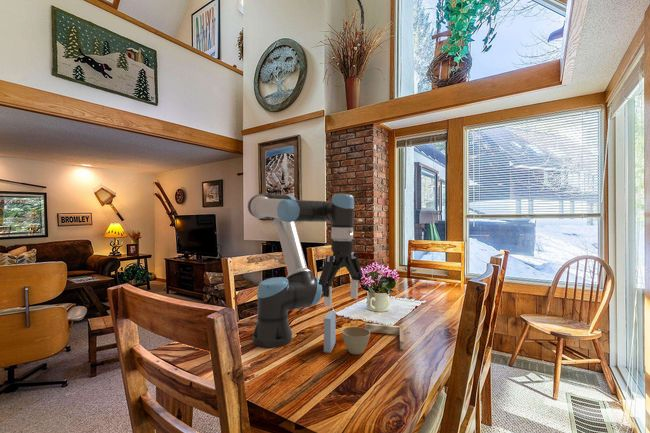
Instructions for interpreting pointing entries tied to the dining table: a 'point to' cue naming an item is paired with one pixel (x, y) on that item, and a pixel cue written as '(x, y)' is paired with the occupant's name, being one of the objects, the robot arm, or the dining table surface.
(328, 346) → the pale blue rectangular prism
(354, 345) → the flower pot
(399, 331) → the l-shaped bracket
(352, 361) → the dining table surface
